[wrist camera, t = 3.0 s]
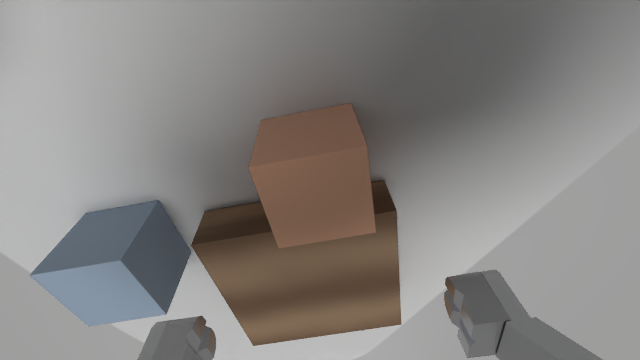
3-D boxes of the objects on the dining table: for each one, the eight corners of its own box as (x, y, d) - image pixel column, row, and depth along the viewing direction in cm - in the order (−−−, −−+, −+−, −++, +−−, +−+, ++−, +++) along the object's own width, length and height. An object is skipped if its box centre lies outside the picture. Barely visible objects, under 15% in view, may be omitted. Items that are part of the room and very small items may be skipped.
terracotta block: (261, 119, 17) (248, 167, 12) (350, 102, 16) (367, 146, 12) (283, 190, 19) (278, 248, 15) (360, 176, 19) (375, 232, 15)
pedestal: (204, 211, 20) (191, 245, 17) (384, 180, 19) (396, 210, 17) (257, 311, 27) (253, 345, 24) (391, 291, 26) (401, 324, 23)
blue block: (86, 212, 20) (29, 275, 15) (159, 199, 19) (120, 260, 15) (127, 261, 22) (88, 326, 18) (191, 251, 22) (166, 314, 18)
